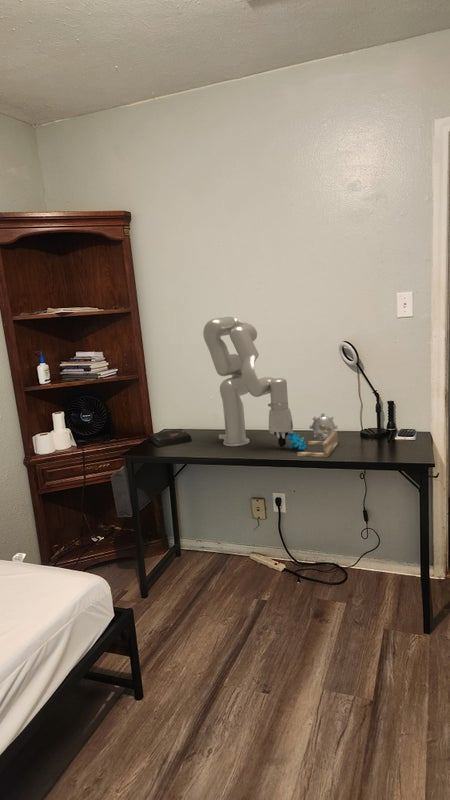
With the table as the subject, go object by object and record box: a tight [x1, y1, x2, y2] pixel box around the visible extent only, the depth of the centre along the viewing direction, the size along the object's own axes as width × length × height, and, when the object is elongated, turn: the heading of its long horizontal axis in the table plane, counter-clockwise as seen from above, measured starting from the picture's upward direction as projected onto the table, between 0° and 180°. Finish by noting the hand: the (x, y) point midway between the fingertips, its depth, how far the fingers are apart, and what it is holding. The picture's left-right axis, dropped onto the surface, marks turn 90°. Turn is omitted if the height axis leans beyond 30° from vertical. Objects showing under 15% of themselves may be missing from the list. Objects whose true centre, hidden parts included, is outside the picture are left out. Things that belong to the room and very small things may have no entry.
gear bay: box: [296, 430, 338, 458], centre depth 225 cm, size 13×20×6 cm, turn 156°
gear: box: [309, 412, 339, 441], centre depth 235 cm, size 12×3×13 cm, turn 66°
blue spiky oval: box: [287, 431, 307, 451], centre depth 229 cm, size 11×6×10 cm
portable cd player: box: [149, 428, 193, 448], centre depth 262 cm, size 16×17×4 cm
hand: (282, 446), depth 231 cm, fingers closed
